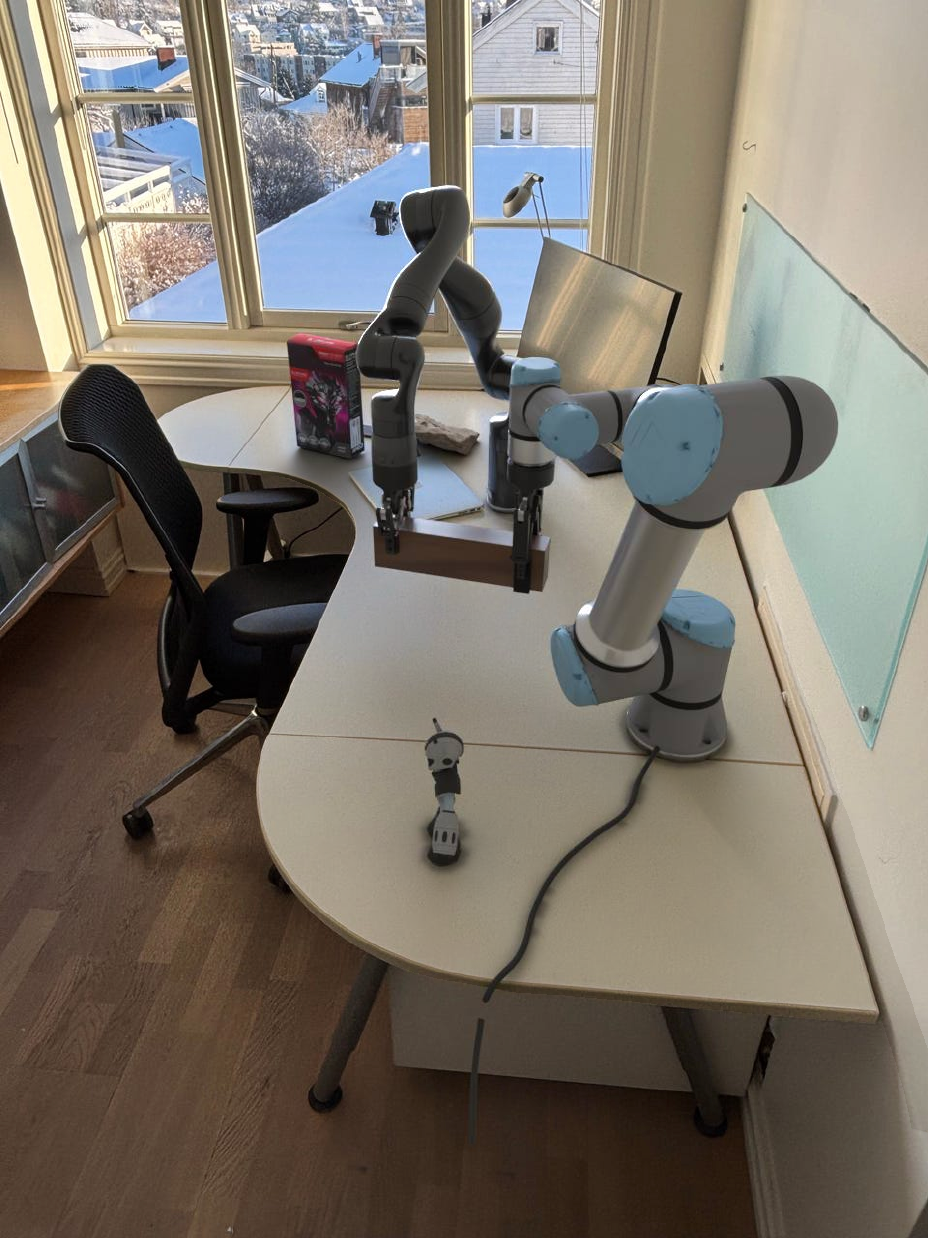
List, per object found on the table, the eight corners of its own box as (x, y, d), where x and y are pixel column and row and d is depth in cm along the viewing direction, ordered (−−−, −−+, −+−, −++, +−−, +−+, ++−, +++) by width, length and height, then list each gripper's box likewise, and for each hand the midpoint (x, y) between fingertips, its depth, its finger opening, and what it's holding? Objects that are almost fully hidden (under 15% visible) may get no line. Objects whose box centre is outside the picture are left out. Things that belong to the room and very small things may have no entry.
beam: (542, 592, 156) (545, 551, 151) (374, 566, 162) (372, 526, 158) (547, 577, 160) (550, 536, 155) (384, 552, 166) (382, 513, 162)
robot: (466, 900, 116) (468, 784, 104) (427, 902, 115) (425, 785, 104) (459, 789, 132) (460, 678, 121) (425, 790, 132) (423, 679, 120)
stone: (382, 437, 229) (387, 414, 227) (402, 429, 243) (406, 406, 240) (461, 462, 226) (467, 438, 223) (477, 452, 239) (482, 429, 237)
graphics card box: (294, 447, 232) (283, 339, 217) (310, 437, 237) (301, 331, 222) (351, 461, 225) (344, 350, 210) (367, 450, 230) (361, 342, 215)
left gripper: (402, 476, 146) (405, 569, 155) (429, 441, 157) (430, 530, 166) (357, 470, 147) (363, 562, 157) (387, 436, 159) (391, 524, 168)
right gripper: (543, 484, 138) (535, 614, 151) (564, 438, 152) (556, 560, 165) (494, 478, 139) (491, 607, 152) (520, 433, 154) (515, 555, 167)
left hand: (397, 545), depth 161 cm, fingers closed on beam, 5 cm apart
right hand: (524, 583), depth 159 cm, fingers closed on beam, 5 cm apart
